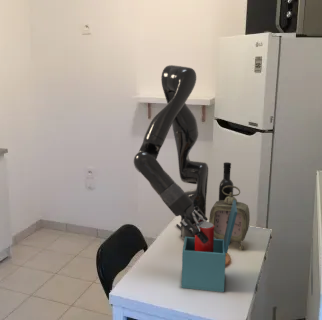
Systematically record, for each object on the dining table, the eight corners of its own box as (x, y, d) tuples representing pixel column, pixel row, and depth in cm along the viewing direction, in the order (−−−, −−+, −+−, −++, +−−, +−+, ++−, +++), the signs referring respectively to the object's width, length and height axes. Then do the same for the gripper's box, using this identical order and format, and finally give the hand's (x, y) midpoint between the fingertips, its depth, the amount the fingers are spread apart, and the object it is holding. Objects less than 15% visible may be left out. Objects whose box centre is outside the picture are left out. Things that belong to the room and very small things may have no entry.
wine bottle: (231, 227, 194) (234, 161, 187) (230, 232, 189) (233, 165, 182) (218, 226, 196) (221, 161, 189) (217, 231, 191) (219, 164, 183)
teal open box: (181, 287, 145) (182, 250, 142) (184, 271, 156) (184, 236, 153) (223, 292, 142) (225, 254, 139) (223, 274, 153) (225, 239, 150)
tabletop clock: (208, 246, 176) (210, 186, 170) (212, 237, 184) (215, 180, 178) (245, 252, 170) (249, 190, 164) (248, 243, 178) (252, 184, 172)
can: (190, 252, 148) (191, 223, 145) (204, 247, 151) (205, 219, 149) (203, 259, 143) (204, 229, 140) (217, 254, 146) (218, 225, 143)
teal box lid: (234, 211, 135) (237, 212, 135) (233, 199, 146) (235, 200, 146) (224, 252, 139) (227, 253, 139) (224, 238, 150) (226, 238, 150)
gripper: (176, 199, 139) (212, 240, 137) (190, 186, 152) (223, 224, 149) (160, 212, 143) (195, 252, 140) (175, 199, 155) (207, 236, 153)
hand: (209, 237), depth 145 cm, fingers closed on can, 6 cm apart
